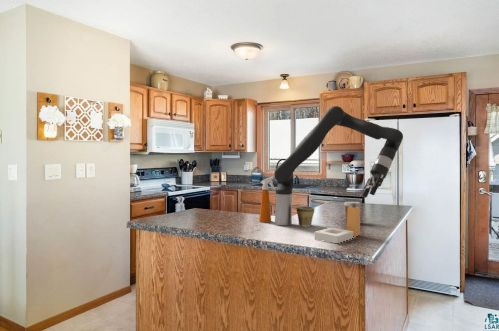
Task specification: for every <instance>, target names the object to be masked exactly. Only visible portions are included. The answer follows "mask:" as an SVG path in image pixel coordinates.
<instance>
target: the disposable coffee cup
mask: <svg viewBox="0 0 499 331" xmlns="http://www.w3.org/2000/svg"><path fill="white" fill-rule="evenodd" d="M352 203H356V207H360V208H361V206H362V204H361V202H359V201H352V200H348V201H347V200H346V201H345V202H344V204H343V206H344V210H345V219H346V222H347V207H351V206H352Z"/></svg>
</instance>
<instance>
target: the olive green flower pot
mask: <svg viewBox="0 0 499 331" xmlns="http://www.w3.org/2000/svg"><path fill="white" fill-rule="evenodd" d="M295 208H296V214H297V220H298V224H299V225H300V226H299V227H302V226H306V227H305V228H308V226H310V227H311V226H312V222H313V218H314V213H315V208H316V207H313V206H307V205H306V206H304V205H303V206H302V205H301V206H297V207H295Z"/></svg>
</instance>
